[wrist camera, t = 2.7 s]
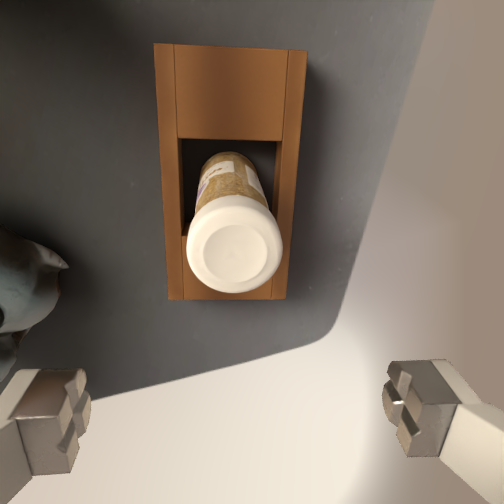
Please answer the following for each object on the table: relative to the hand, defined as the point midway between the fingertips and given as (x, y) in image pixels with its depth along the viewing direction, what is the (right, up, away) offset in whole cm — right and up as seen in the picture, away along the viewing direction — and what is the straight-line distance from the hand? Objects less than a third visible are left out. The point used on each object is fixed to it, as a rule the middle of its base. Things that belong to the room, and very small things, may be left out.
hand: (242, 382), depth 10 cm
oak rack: (-2, +9, +19) cm, 22 cm away
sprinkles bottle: (-2, +9, +20) cm, 22 cm away
